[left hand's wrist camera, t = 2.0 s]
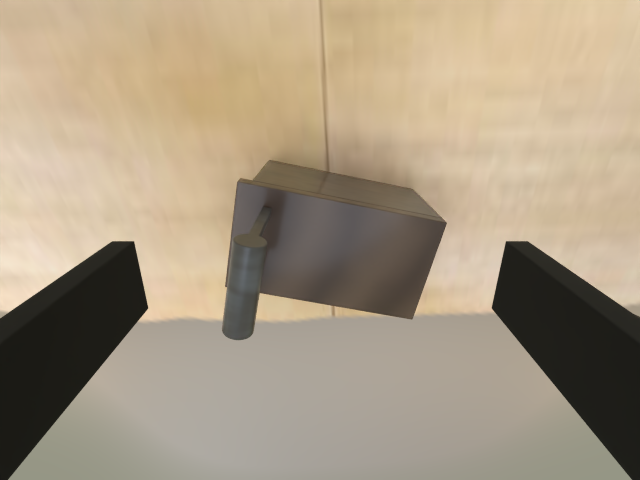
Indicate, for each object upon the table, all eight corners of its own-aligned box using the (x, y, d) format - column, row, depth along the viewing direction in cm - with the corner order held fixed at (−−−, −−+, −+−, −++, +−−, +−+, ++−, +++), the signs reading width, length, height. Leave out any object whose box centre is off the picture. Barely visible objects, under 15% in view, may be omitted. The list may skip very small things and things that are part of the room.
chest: (257, 240, 40) (238, 282, 31) (269, 159, 36) (252, 180, 27) (389, 265, 41) (409, 312, 32) (413, 189, 37) (442, 217, 28)
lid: (228, 280, 31) (192, 351, 22) (240, 178, 27) (204, 214, 19) (409, 312, 32) (442, 391, 23) (442, 218, 28) (495, 270, 20)
